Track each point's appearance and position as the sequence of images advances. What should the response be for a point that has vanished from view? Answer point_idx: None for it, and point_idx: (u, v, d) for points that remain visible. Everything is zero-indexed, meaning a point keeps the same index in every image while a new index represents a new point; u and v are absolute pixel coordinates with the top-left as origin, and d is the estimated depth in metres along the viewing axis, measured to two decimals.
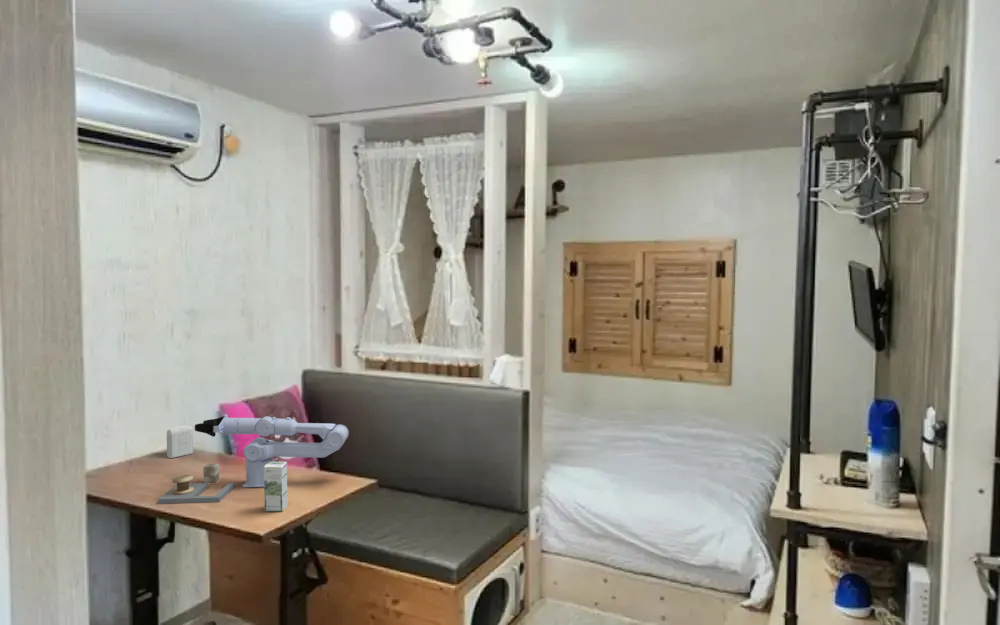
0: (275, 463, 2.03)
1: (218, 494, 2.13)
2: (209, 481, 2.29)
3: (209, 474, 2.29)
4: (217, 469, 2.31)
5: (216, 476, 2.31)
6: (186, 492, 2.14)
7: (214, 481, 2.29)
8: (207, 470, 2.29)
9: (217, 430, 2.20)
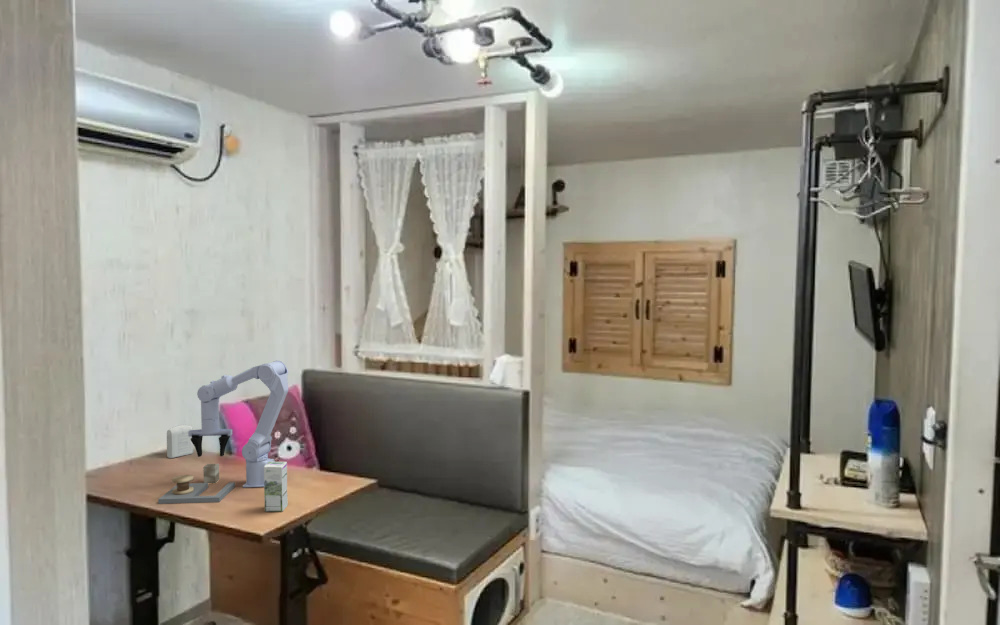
0: (275, 463, 2.03)
1: (218, 494, 2.13)
2: (209, 481, 2.29)
3: (209, 474, 2.29)
4: (217, 469, 2.31)
5: (216, 476, 2.30)
6: (186, 492, 2.14)
7: (214, 481, 2.29)
8: (207, 470, 2.29)
9: None
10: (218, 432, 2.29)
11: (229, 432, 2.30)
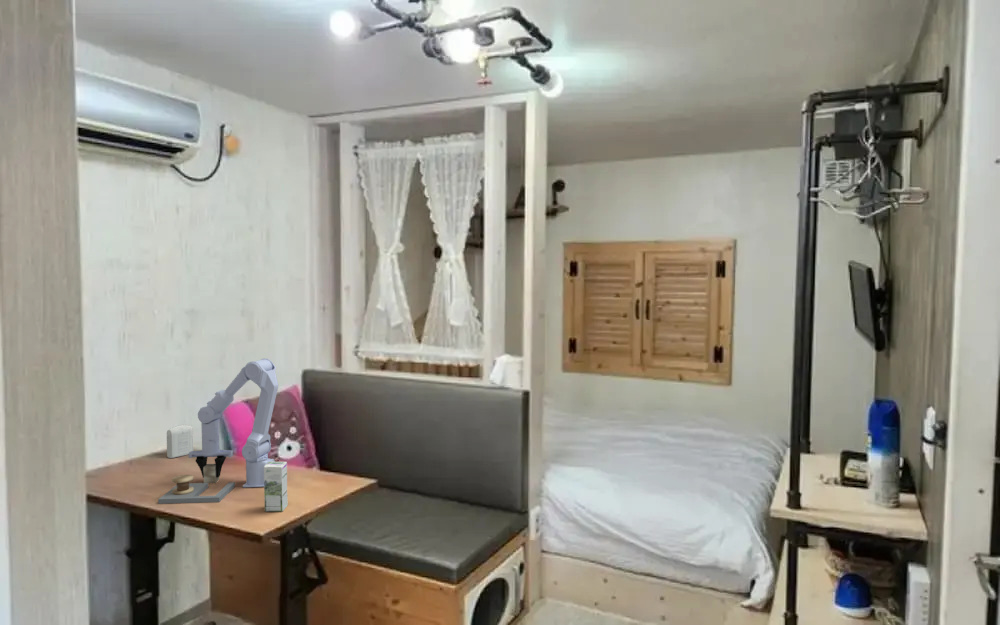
0: (275, 463, 2.03)
1: (218, 494, 2.13)
2: (209, 481, 2.29)
3: (209, 474, 2.29)
4: None
5: None
6: (186, 492, 2.14)
7: (214, 481, 2.29)
8: (207, 470, 2.29)
9: None
10: (218, 453, 2.29)
11: (229, 453, 2.30)
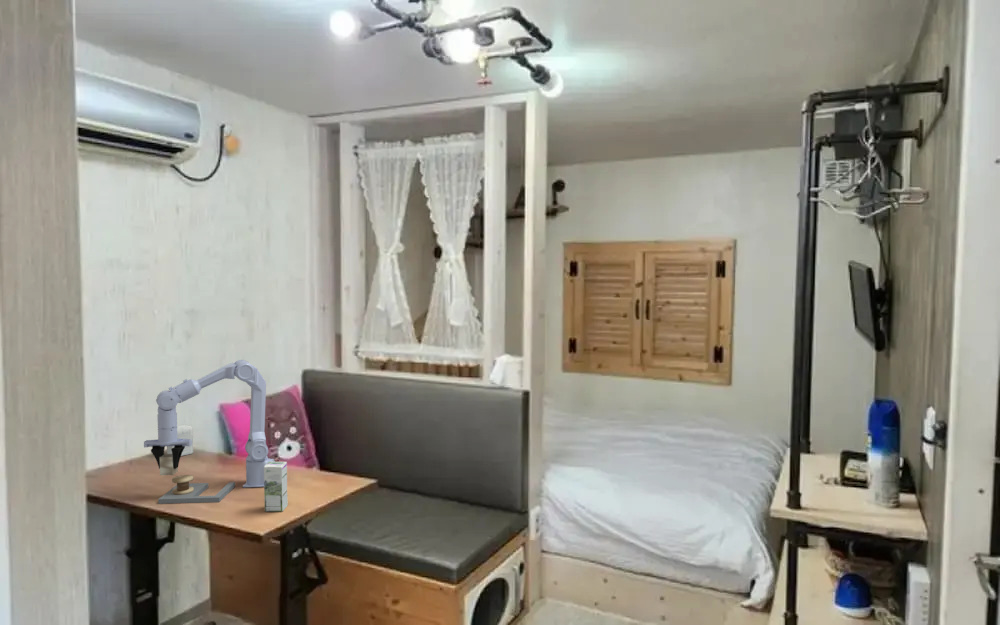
0: (275, 463, 2.03)
1: (218, 494, 2.13)
2: (166, 472, 2.12)
3: (166, 465, 2.12)
4: None
5: None
6: (186, 492, 2.14)
7: (171, 472, 2.13)
8: (164, 461, 2.12)
9: None
10: (176, 442, 2.12)
11: (188, 442, 2.13)
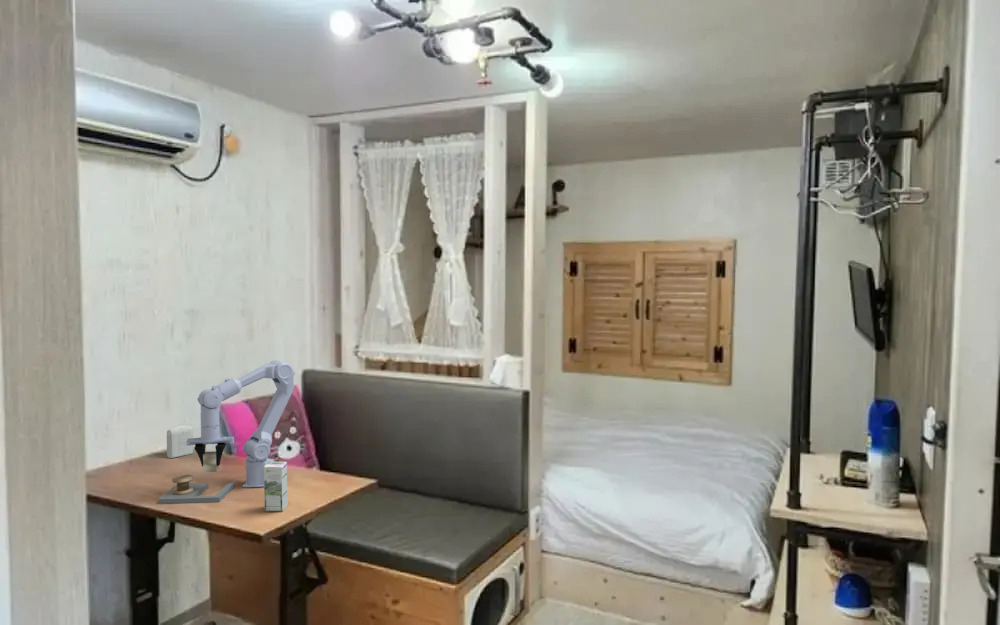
0: (275, 463, 2.03)
1: (218, 494, 2.13)
2: (209, 469, 2.16)
3: (209, 462, 2.16)
4: None
5: None
6: (186, 492, 2.14)
7: (215, 469, 2.17)
8: (207, 458, 2.16)
9: None
10: (219, 440, 2.16)
11: (231, 440, 2.18)
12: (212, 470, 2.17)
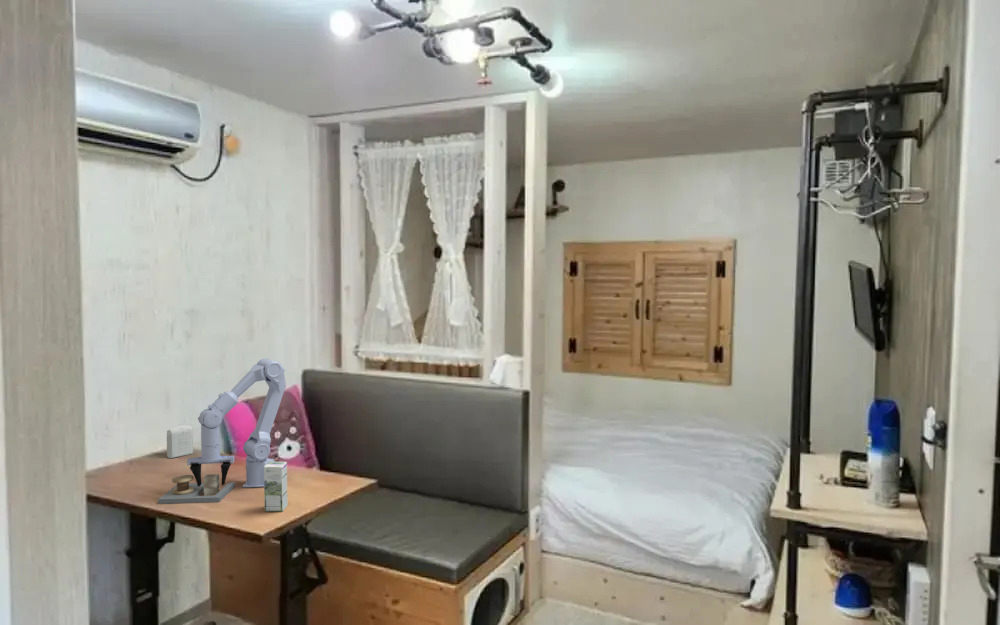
0: (275, 463, 2.03)
1: (218, 494, 2.13)
2: (210, 492, 2.17)
3: (210, 485, 2.17)
4: (218, 480, 2.19)
5: (217, 487, 2.18)
6: (186, 492, 2.14)
7: (215, 492, 2.17)
8: (208, 481, 2.17)
9: None
10: (220, 459, 2.17)
11: (231, 459, 2.18)
12: (213, 493, 2.17)
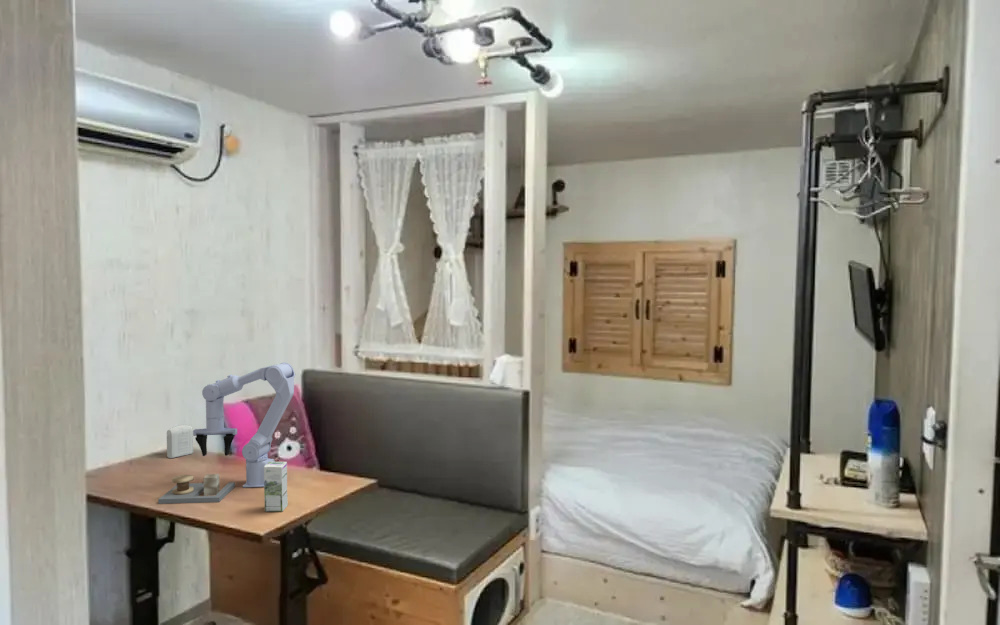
0: (275, 463, 2.03)
1: (218, 494, 2.13)
2: (210, 493, 2.17)
3: (210, 485, 2.17)
4: (218, 480, 2.19)
5: (217, 487, 2.18)
6: (186, 492, 2.14)
7: (215, 492, 2.17)
8: (208, 481, 2.17)
9: None
10: (223, 431, 2.28)
11: (234, 431, 2.29)
12: (213, 493, 2.17)
